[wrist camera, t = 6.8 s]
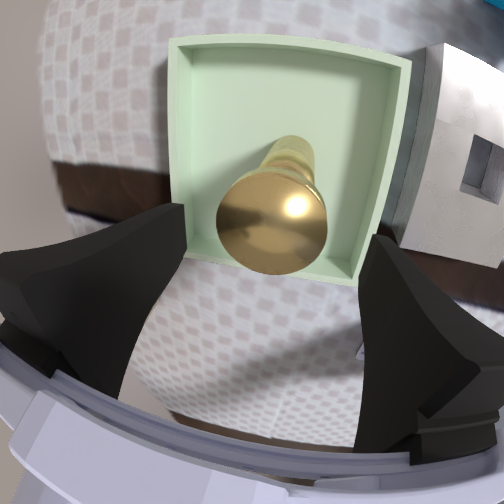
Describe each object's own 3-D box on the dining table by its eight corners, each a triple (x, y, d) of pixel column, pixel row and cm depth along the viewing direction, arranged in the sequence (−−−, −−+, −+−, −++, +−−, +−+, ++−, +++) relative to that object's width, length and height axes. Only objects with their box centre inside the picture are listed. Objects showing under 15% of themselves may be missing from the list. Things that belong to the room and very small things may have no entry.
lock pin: (317, 188, 19) (315, 283, 11) (260, 179, 19) (215, 264, 11) (326, 133, 17) (338, 187, 8) (265, 124, 17) (216, 168, 9)
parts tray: (354, 263, 22) (357, 287, 20) (191, 236, 24) (177, 256, 22) (397, 63, 13) (412, 60, 11) (188, 42, 15) (169, 38, 12)
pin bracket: (483, 248, 18) (496, 268, 16) (390, 226, 20) (399, 247, 17) (526, 99, 10) (548, 106, 8) (426, 46, 12) (444, 42, 9)
